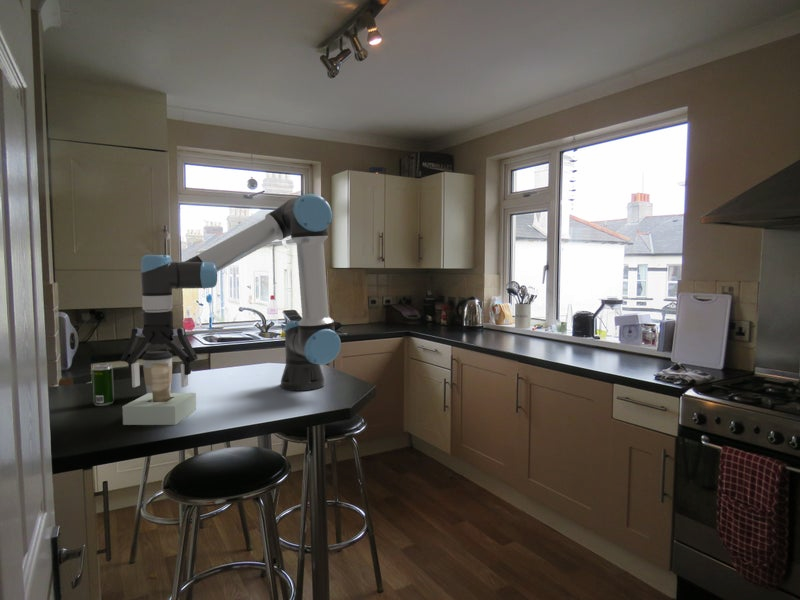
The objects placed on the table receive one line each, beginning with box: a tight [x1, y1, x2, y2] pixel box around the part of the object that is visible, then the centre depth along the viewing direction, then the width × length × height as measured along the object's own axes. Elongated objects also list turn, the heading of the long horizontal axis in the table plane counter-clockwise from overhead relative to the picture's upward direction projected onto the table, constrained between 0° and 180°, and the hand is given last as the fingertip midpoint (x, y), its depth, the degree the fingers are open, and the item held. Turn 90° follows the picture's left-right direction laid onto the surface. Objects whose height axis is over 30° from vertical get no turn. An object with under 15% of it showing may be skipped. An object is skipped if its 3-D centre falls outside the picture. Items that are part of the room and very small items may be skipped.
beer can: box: [91, 363, 115, 407], centre depth 155 cm, size 5×5×12 cm
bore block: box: [121, 392, 197, 426], centre depth 142 cm, size 14×14×5 cm
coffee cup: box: [141, 347, 173, 394], centre depth 164 cm, size 9×9×15 cm
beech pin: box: [151, 362, 171, 402], centre depth 142 cm, size 4×4×14 cm
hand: (160, 386), depth 142 cm, fingers open, 13 cm apart
